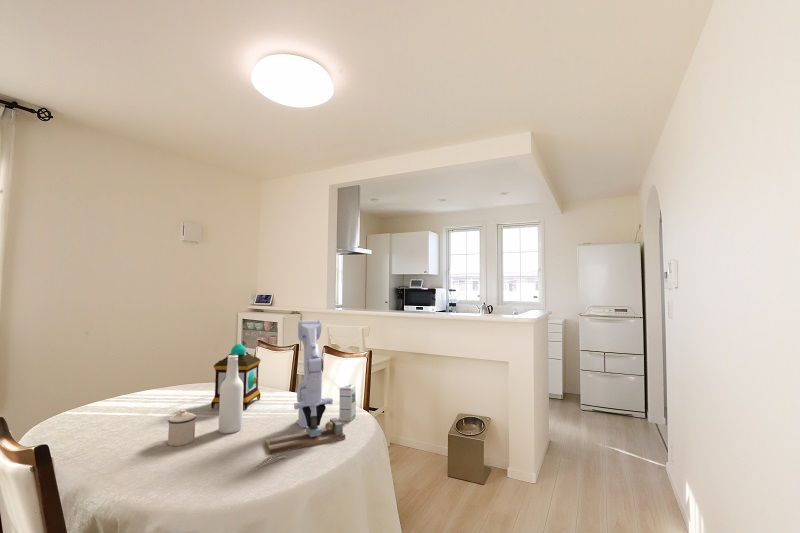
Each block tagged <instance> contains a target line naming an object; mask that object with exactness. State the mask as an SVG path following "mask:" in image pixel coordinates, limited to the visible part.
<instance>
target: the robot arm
mask: <svg viewBox="0 0 800 533" xmlns="http://www.w3.org/2000/svg"><path fill="white" fill-rule="evenodd" d="M297 322H298V325H297V333H298V334H297V335H298V336H297V338H298V341H300V342H302V344H303V379H302V380H301V381H300V382H298V384H297V390H296V398H297V399H296V401H297V402H294V403H293V408H294V410H295V411H296V410H298V419H296V420H295V421H296V422H297V424H298V425H299V427H300V428H301V429H303V428H306V426H308V427H310V425H311V424H310V417H311V416H317V426H318V427H320V425H321V420H322V417H323V415H324V413H325V411H326V408H327V407H326V405H333V403H334V402H333V398H332V397H330V398H329V397H327V398H322V392H323V390H322V389H323V388H322V387H323V384H322V382H323V381H322V380H323V373H324V370H325V368H324V365H325V364H324V363H325V361H324V359H323V356H322V355H321V354H322V353H321V347H320V345H319V344H318V343H317V341H318V340H320V337H321V334H322V321H321V320H320V319H316V320H300V319H299V321H297Z"/></svg>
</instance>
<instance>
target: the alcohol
mask: <svg viewBox="0 0 800 533" xmlns="http://www.w3.org/2000/svg"><path fill="white" fill-rule="evenodd" d="M227 356H228V355H227ZM243 410H244V404H243V382H242V381H241V379H240V378H239V376H238V356H237V355H230V356H228V364H227V373H226V378H225V380H224V381H223V382H222V384H221V387H220V404H219V410H218V431H219V432H220V433H221V434H226V435H227V434H235V433H237V432H239V431H240V430H241V429H242V427H243V414H244V412H243Z"/></svg>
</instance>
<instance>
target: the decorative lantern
mask: <svg viewBox="0 0 800 533" xmlns="http://www.w3.org/2000/svg"><path fill="white" fill-rule="evenodd" d="M230 355H237V356H238V376H239V378H240V379H241V381H242V382H243V410H245V411H246V410H247V409H248V406H249V403H250V402H251V401H252V400H254V399H256V400H257V401H260V400H261V392H260V389H259V365H260V363H261V359H260V358H259V357H257V356H255V355H254V356H253V355H252V354H250V353H249V352H247V349H246V347H245V346H244V345H243V344H241V343H237V344H235V345H234V346H232V348H231V349H230V353H228V354H227V356H225V358H222V359H221V360H218V361H217V362H216V363H215V364H213V368H214V370H215V378H214V379H215V380H214V382H215V384H214V385H215V386H214V397H213V398H212V400H211V404H210V405H211V409H212V410H214V409H216V404H217V405H218V404H220V387H221V384H222V382H223V381H224V380H225V378H226V373H227V364H228V356H230Z"/></svg>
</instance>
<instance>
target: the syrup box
mask: <svg viewBox="0 0 800 533" xmlns="http://www.w3.org/2000/svg"><path fill="white" fill-rule="evenodd" d="M338 403H339V417H338V418H339V419H338V420H339V421H341V420H342V421H343V422H352V421H353V420H354V419H355V418H356V413H357V412H356V410H357V408H356V404H357V402H356V385H355V384H343V385H342V386H340V387H339V402H338ZM342 421H341V422H342Z"/></svg>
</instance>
